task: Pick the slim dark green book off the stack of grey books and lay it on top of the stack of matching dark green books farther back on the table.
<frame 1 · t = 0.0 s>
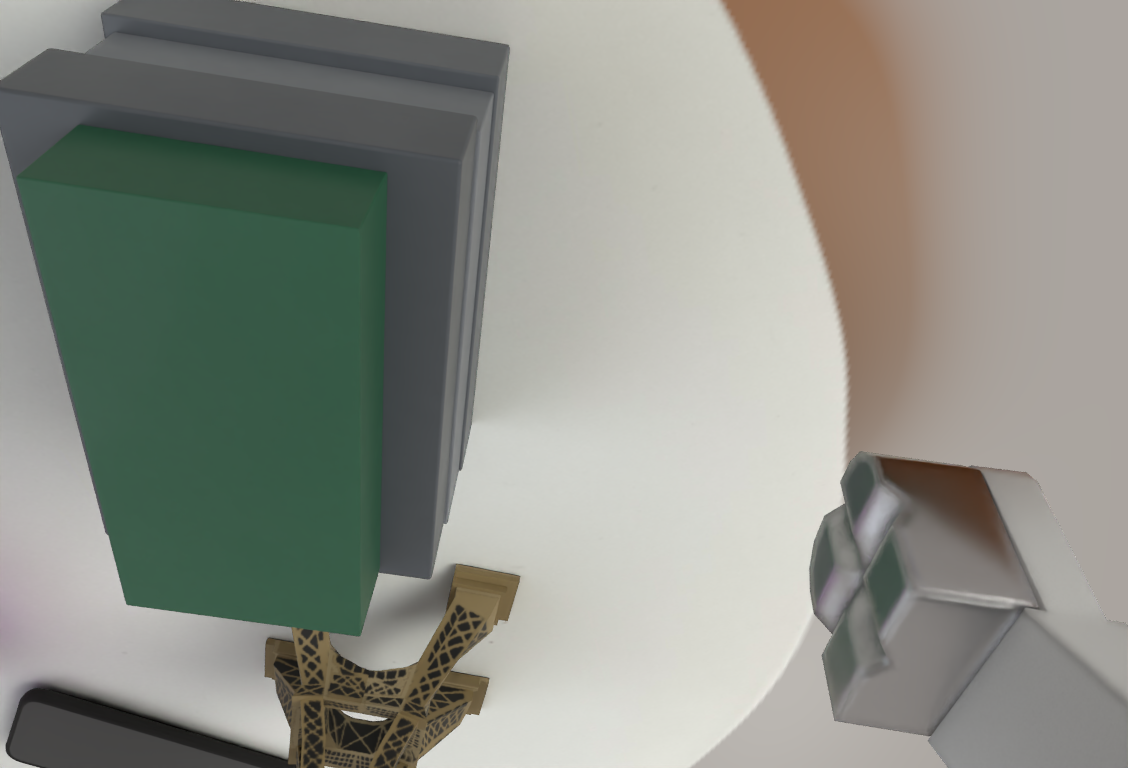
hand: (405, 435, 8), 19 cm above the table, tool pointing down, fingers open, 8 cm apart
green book: (256, 385, 23), point 7 cm above the table, touching grey stack
smartphone: (162, 750, 50), on the table
eiffel tower: (385, 623, 42), on the table
grey stack: (332, 239, 29), on the table
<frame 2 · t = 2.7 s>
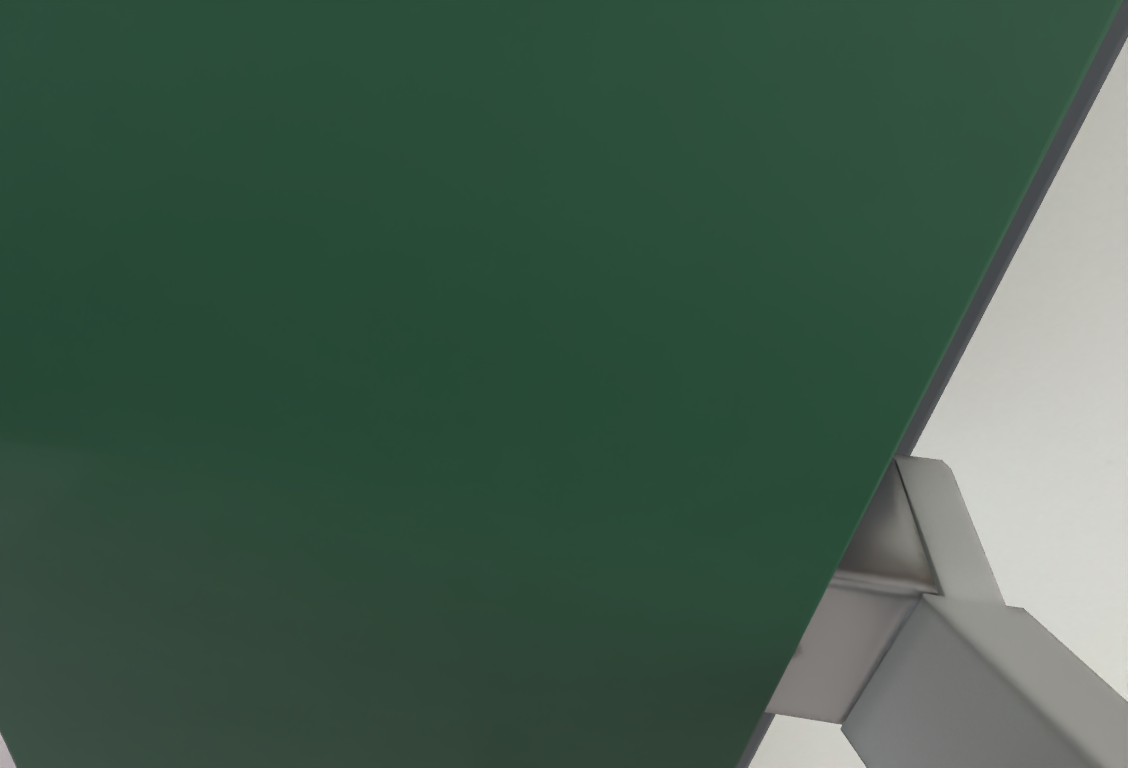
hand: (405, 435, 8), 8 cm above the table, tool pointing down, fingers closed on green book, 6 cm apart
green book: (420, 402, 9), point 7 cm above the table, touching grey stack, gripper
grey stack: (504, 103, 15), on the table
when the fingers open (4 cm above the table, at t = 10.2 s): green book stays where it is, resting on green stack.
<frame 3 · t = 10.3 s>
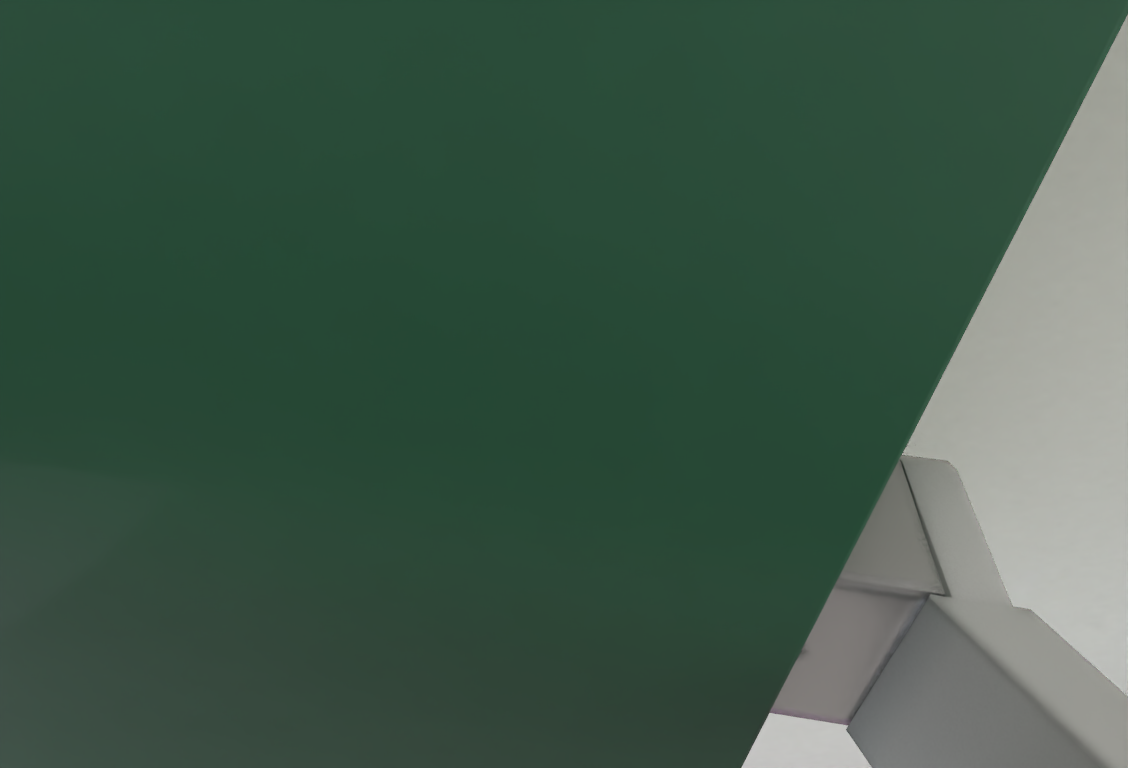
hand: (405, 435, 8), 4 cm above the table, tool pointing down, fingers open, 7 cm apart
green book: (414, 410, 9), point 4 cm above the table, touching green stack
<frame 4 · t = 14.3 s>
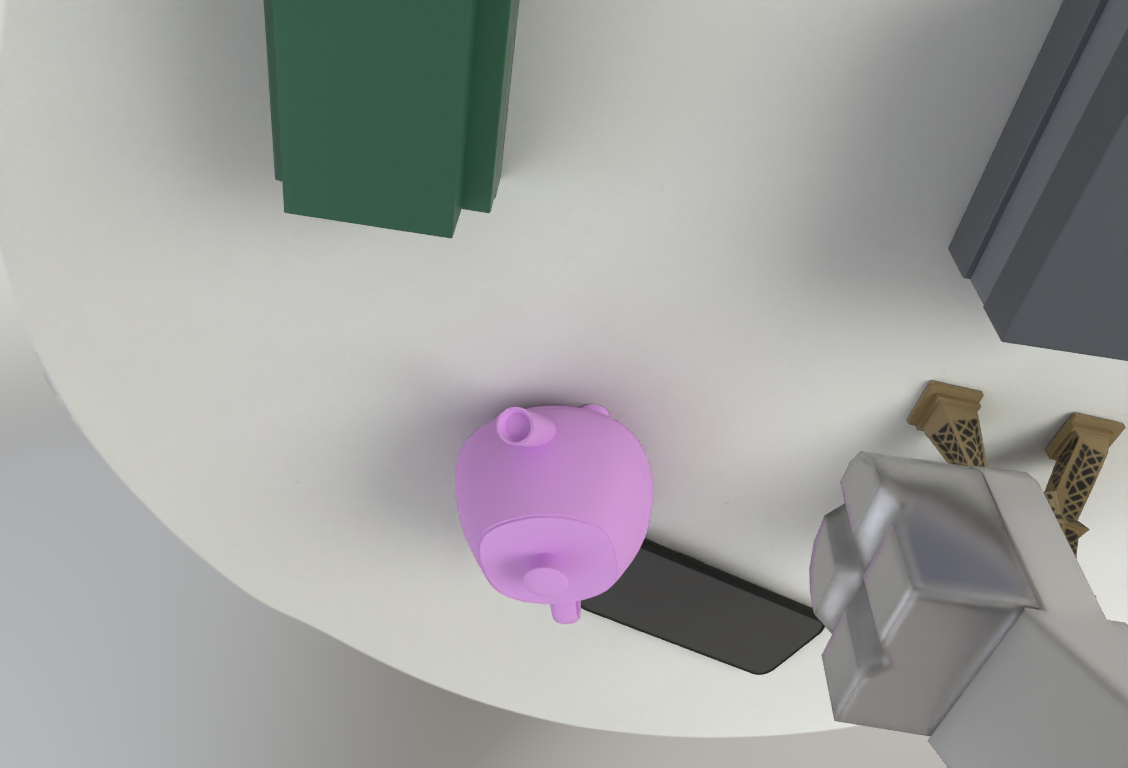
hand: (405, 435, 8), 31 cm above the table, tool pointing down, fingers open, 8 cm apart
teapot: (555, 437, 50), on the table
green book: (385, 35, 33), point 4 cm above the table, touching green stack
smartphone: (701, 601, 58), on the table
eiffel tower: (975, 471, 50), on the table
green stack: (404, 0, 36), on the table
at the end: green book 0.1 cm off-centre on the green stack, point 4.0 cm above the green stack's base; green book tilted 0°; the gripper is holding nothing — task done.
